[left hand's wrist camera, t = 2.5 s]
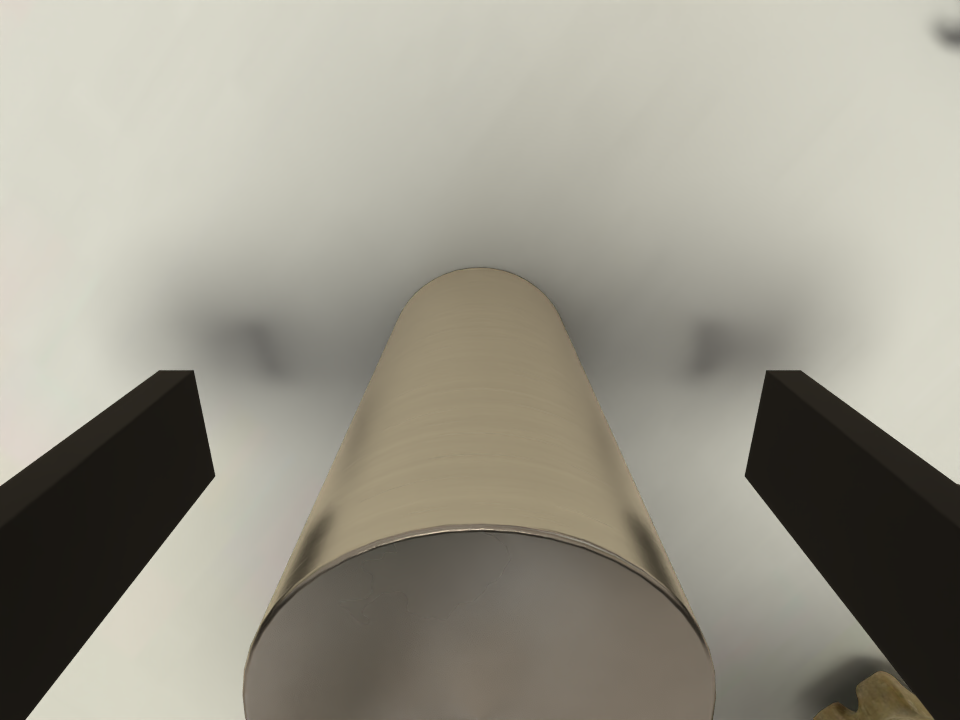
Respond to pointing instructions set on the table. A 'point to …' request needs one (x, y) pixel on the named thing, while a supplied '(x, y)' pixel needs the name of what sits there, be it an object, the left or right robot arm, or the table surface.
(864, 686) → the sculpture
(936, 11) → the table surface
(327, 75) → the table surface
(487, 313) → the canister
